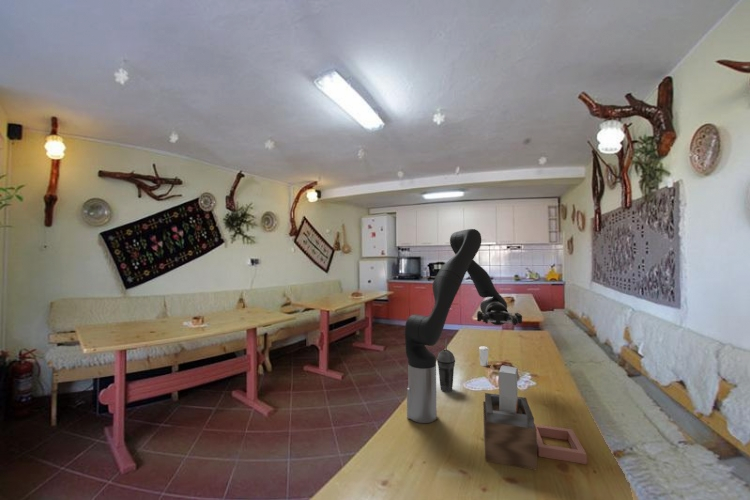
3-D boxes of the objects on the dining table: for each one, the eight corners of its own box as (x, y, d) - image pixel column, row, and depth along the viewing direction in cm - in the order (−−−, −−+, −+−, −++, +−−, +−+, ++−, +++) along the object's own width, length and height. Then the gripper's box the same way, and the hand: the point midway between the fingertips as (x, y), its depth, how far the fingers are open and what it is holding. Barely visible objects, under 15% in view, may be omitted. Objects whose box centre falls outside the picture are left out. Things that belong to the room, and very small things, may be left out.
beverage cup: (435, 391, 122) (434, 340, 123) (438, 384, 129) (438, 336, 129) (454, 394, 119) (453, 342, 120) (456, 387, 126) (456, 337, 127)
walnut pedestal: (485, 460, 80) (485, 411, 81) (483, 435, 92) (483, 392, 92) (537, 470, 77) (536, 418, 77) (528, 442, 88) (527, 397, 88)
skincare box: (516, 420, 81) (515, 374, 81) (499, 416, 83) (498, 371, 83) (518, 410, 86) (517, 367, 86) (501, 407, 88) (501, 364, 89)
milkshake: (491, 367, 149) (491, 346, 149) (479, 366, 150) (479, 345, 150) (489, 364, 154) (489, 343, 154) (478, 363, 155) (478, 343, 155)
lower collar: (538, 456, 82) (538, 446, 82) (530, 432, 93) (530, 423, 93) (586, 464, 79) (586, 454, 79) (572, 438, 90) (571, 429, 90)
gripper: (476, 302, 118) (477, 308, 103) (517, 303, 114) (524, 310, 98) (476, 321, 118) (477, 331, 102) (517, 324, 114) (525, 334, 98)
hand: (500, 321), depth 100 cm, fingers open, 8 cm apart
